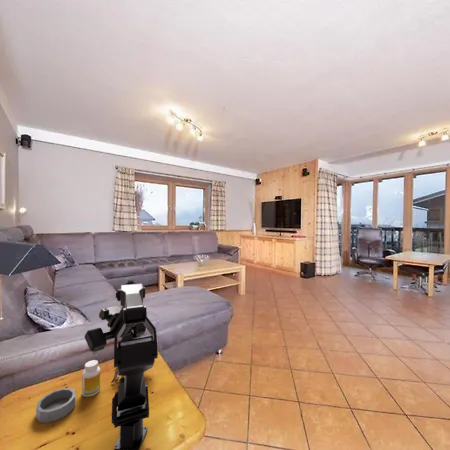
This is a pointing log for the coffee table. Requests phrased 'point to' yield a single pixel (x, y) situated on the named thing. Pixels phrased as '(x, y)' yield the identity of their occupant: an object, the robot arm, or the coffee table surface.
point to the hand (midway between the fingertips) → (107, 349)
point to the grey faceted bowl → (55, 405)
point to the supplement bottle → (91, 379)
